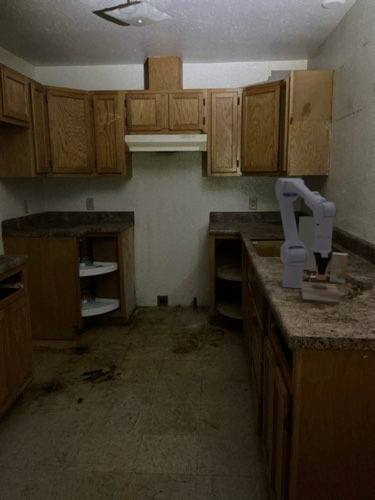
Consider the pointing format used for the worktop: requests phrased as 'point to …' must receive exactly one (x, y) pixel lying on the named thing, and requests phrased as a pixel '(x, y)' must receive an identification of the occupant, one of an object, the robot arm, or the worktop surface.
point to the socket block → (320, 293)
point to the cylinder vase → (308, 240)
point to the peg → (321, 276)
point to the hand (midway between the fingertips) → (320, 273)
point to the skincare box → (338, 267)
